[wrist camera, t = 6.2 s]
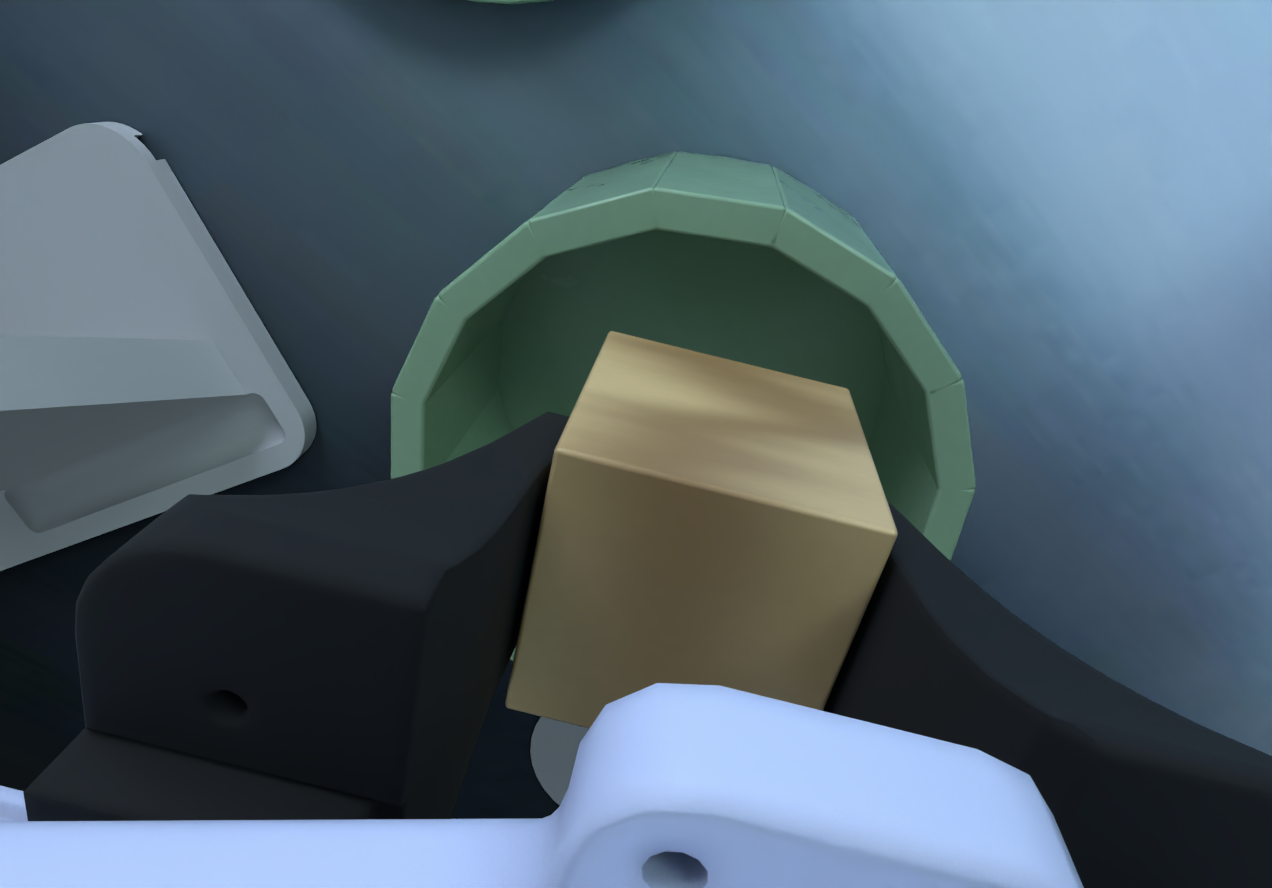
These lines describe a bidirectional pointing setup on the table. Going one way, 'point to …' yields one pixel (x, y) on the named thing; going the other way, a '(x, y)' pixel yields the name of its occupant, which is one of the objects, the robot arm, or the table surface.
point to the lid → (510, 1)
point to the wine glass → (555, 754)
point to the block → (699, 536)
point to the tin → (691, 320)
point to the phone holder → (123, 349)
